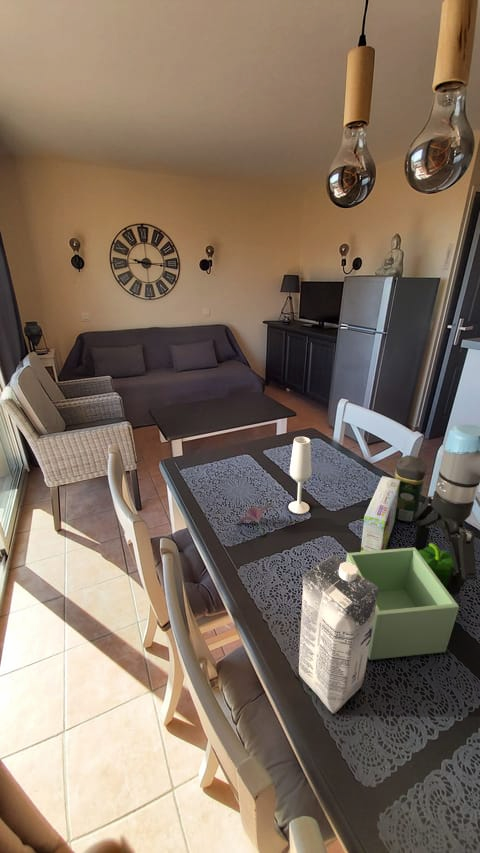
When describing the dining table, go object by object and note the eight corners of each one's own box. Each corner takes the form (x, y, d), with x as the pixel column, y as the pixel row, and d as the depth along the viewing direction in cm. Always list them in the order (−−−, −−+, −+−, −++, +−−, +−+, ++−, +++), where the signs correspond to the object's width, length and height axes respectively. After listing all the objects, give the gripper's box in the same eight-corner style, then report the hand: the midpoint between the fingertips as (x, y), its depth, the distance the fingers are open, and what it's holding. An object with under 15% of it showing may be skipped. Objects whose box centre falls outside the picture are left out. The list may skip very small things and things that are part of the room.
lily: (280, 521, 111) (269, 492, 111) (282, 533, 99) (270, 501, 99) (243, 534, 112) (233, 505, 112) (241, 547, 100) (229, 515, 100)
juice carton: (334, 725, 61) (349, 612, 50) (291, 673, 69) (296, 566, 58) (367, 691, 65) (387, 581, 55) (323, 646, 73) (333, 542, 62)
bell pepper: (458, 596, 83) (468, 563, 79) (422, 596, 84) (430, 563, 80) (440, 568, 91) (449, 537, 87) (408, 568, 91) (414, 537, 87)
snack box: (375, 517, 110) (381, 474, 104) (394, 522, 108) (402, 479, 101) (357, 562, 94) (363, 515, 88) (379, 570, 91) (388, 522, 85)
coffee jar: (391, 501, 117) (399, 451, 110) (418, 508, 114) (428, 456, 106) (386, 518, 109) (395, 465, 102) (415, 526, 106) (426, 471, 98)
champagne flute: (286, 511, 114) (288, 443, 104) (290, 499, 120) (292, 434, 110) (308, 515, 112) (312, 446, 102) (310, 502, 118) (314, 436, 108)
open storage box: (406, 588, 86) (414, 547, 81) (445, 652, 72) (459, 606, 66) (342, 594, 85) (346, 553, 80) (369, 660, 71) (377, 614, 65)
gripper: (407, 466, 88) (394, 535, 97) (477, 535, 66) (452, 617, 74) (437, 464, 89) (421, 532, 97) (516, 532, 66) (486, 613, 75)
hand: (434, 569), depth 86 cm, fingers open, 13 cm apart
